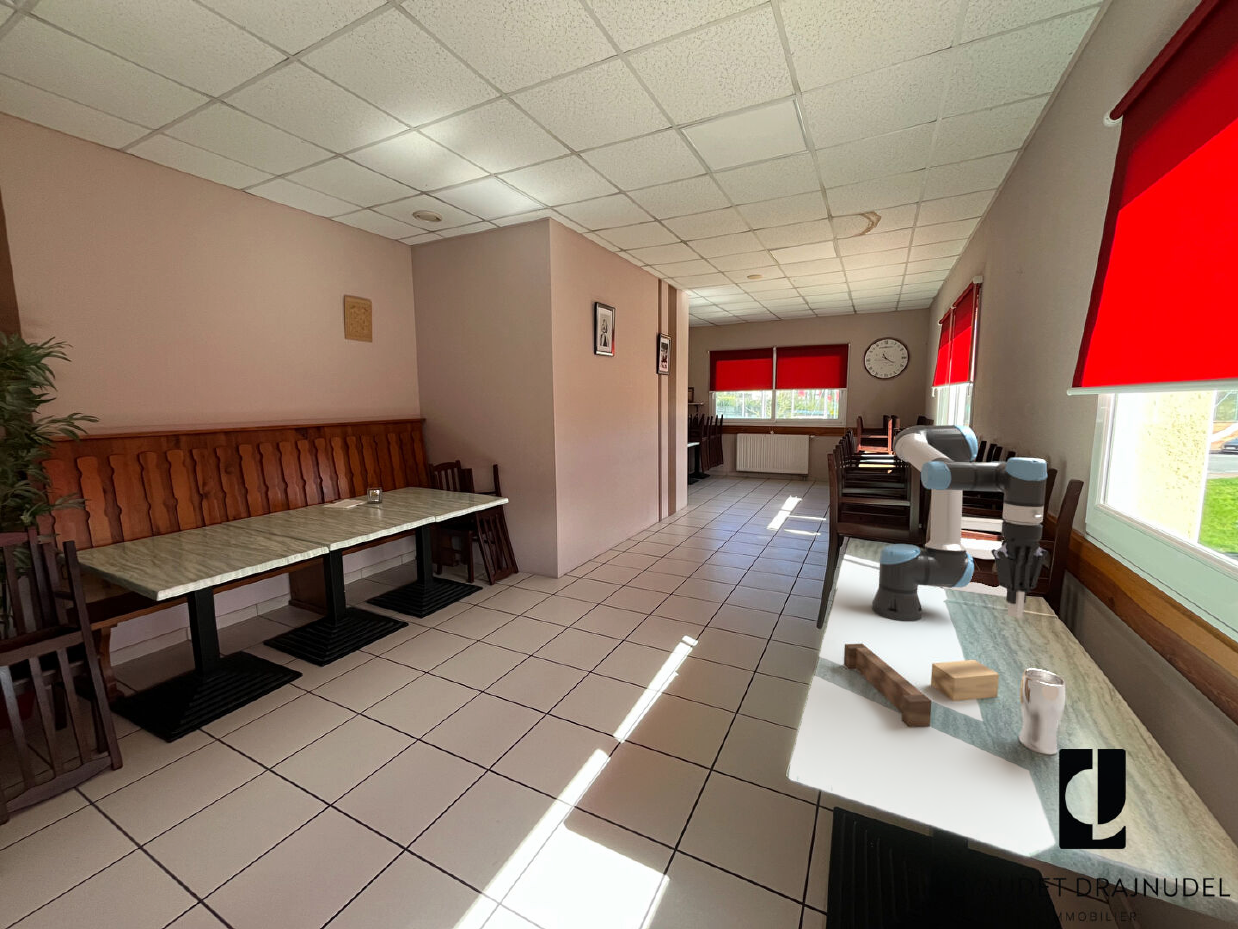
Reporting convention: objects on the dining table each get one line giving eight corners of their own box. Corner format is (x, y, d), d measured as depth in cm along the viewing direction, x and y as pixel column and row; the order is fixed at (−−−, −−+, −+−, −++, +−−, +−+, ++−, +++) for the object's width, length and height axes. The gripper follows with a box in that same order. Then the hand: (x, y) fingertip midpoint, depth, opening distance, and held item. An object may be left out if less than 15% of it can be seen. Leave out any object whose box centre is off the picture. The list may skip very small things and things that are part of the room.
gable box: (941, 588, 191) (946, 518, 188) (937, 578, 203) (941, 512, 200) (1012, 598, 181) (1018, 524, 178) (1004, 586, 193) (1009, 517, 190)
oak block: (930, 685, 124) (932, 663, 123) (972, 682, 126) (974, 659, 125) (953, 701, 117) (954, 678, 116) (997, 697, 119) (999, 674, 118)
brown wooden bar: (843, 665, 134) (844, 644, 133) (861, 664, 134) (862, 643, 134) (908, 727, 107) (909, 701, 107) (929, 726, 108) (931, 700, 107)
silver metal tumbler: (1064, 761, 97) (1070, 690, 95) (1019, 748, 100) (1024, 679, 99) (1056, 741, 102) (1062, 673, 101) (1013, 730, 106) (1019, 664, 105)
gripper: (1010, 525, 113) (1003, 623, 116) (1062, 524, 114) (1054, 621, 117) (984, 519, 121) (977, 610, 123) (1033, 518, 122) (1025, 609, 124)
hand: (1014, 615), depth 120 cm, fingers closed
